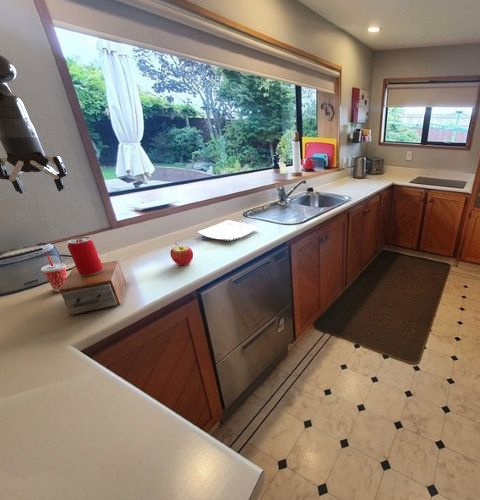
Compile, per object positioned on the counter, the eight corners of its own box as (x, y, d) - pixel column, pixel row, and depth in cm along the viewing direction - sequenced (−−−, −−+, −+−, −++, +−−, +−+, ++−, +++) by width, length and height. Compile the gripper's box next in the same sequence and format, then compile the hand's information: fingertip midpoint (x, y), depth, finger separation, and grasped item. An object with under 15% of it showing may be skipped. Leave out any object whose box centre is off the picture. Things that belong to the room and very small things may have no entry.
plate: (228, 223, 170) (227, 219, 169) (261, 229, 163) (261, 225, 161) (194, 236, 149) (193, 232, 148) (231, 245, 142) (230, 240, 141)
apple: (176, 259, 125) (171, 239, 121) (197, 258, 127) (192, 238, 123) (170, 268, 118) (164, 247, 114) (192, 267, 120) (187, 245, 116)
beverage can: (100, 266, 99) (88, 234, 94) (106, 271, 96) (94, 239, 91) (77, 273, 94) (63, 240, 89) (82, 279, 91) (68, 245, 86)
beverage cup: (55, 285, 104) (39, 251, 98) (76, 282, 106) (62, 249, 100) (47, 294, 99) (30, 258, 93) (70, 290, 101) (54, 256, 95)
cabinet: (120, 304, 95) (111, 280, 91) (71, 315, 89) (59, 289, 85) (126, 282, 107) (118, 260, 103) (83, 290, 101) (73, 267, 97)
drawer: (114, 311, 90) (106, 291, 87) (67, 322, 85) (57, 301, 82) (122, 284, 105) (116, 265, 101) (82, 291, 99) (74, 272, 96)
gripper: (56, 134, 86) (76, 187, 93) (-12, 134, 79) (15, 191, 86) (47, 136, 80) (69, 192, 87) (-27, 136, 73) (3, 196, 80)
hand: (42, 191), depth 86 cm, fingers open, 8 cm apart
